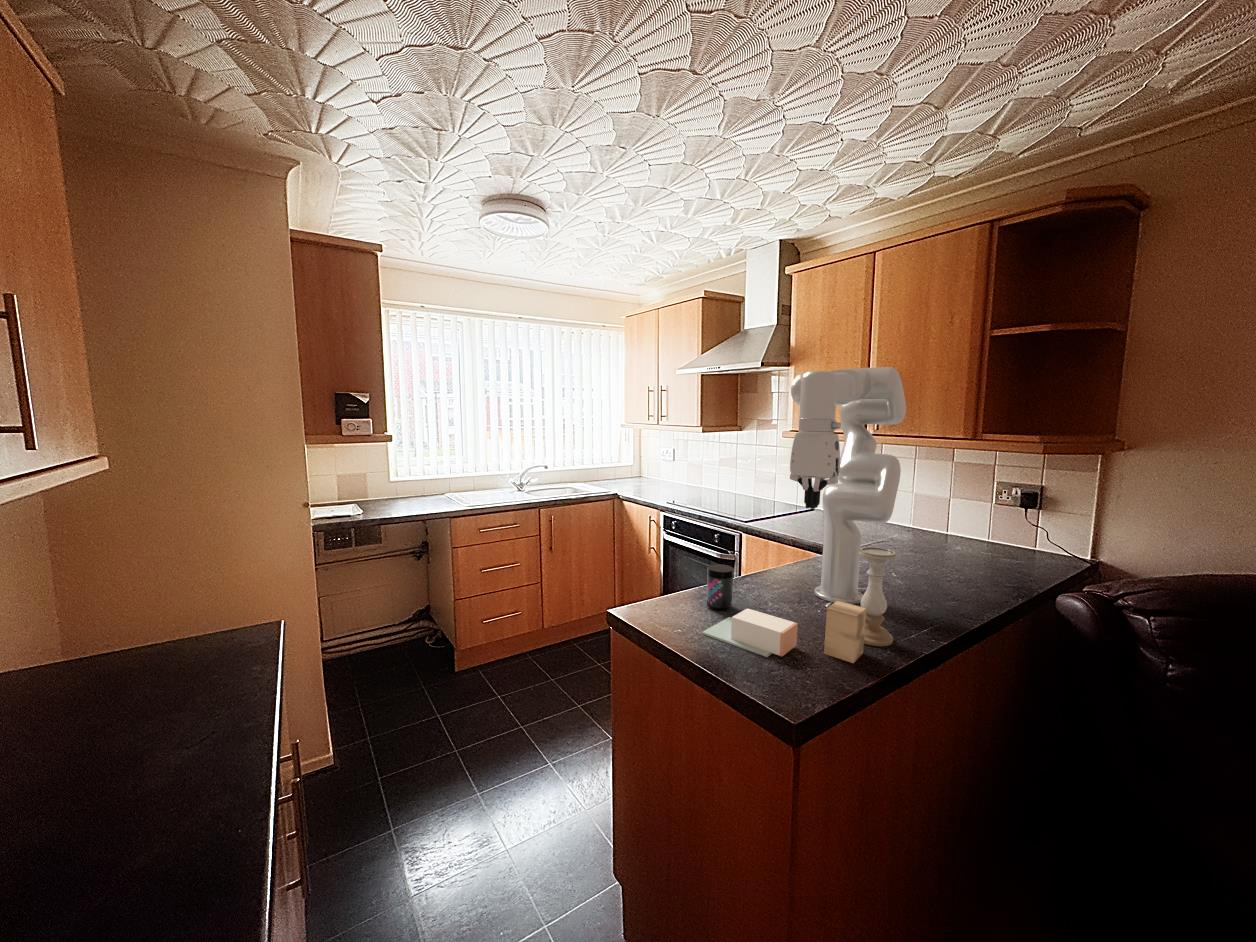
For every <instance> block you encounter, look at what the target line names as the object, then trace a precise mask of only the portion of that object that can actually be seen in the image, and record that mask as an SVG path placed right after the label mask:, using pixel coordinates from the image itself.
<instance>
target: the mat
mask: <svg viewBox="0 0 1256 942" xmlns="http://www.w3.org/2000/svg"><path fill="white" fill-rule="evenodd" d="M732 617H733V616H732ZM732 617H731V616H728V617H727V618H724V619H723V620H721V621H719V622H718V623H715V624H714V625H712V626H710V627H708V628H707V629H705V630H703V631H702V632H701V634H702V635H704V636H707V637H709V638H712V639H715V640H718V641H721V642H723V643H726V644H729V645H732V646H734V647H738V648H740V649H743V650H745V651H749V652H751V653H754V654H757V655H760V656H762V657H765V658H768V657H769V656H771V655H772V654H773V653H770V652H768V651H765V650H762V649H759V648H756V647H753V646H750V645H748V644H745V643H742V642H739V641H736V640H733V639H731V626H732Z"/></svg>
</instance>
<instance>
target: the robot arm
mask: <svg viewBox="0 0 1256 942" xmlns="http://www.w3.org/2000/svg"><path fill="white" fill-rule="evenodd" d="M790 396H791V397H792V400H793V401H794V402H795V404H797V405H799V417H798V432H795V434H794V439H793V442H792V447H791V454H790V461H789V462H790V463H789V473H790V475H789V479H790V480H792V481H794V482H797V483H799V485H800V486H801V487H802V489H803V491H804V497H803V498H804V499H803V503H804V505H805V508H806V509H811V510H813V509H818V506H820V504H821V492H822V491H823V489H824V491H823V493H822V509H823V518H824V519H823V521H824V522H823V523H824V526H823V527H824V529H823V546H822V560H821V561H822V562H821V563H822V564H821V577H820V585H818V586H816V587H815V588H814V594H815V595H816V596H817V597H818V598H820V599H821V600H824V601H826V602H831V603H835V602H836V601H840V602H844V603H848V604H852V605H857V604H860V602H861V599H862V596H863V595H864V593H862V592H860V591H859V578H860V564H861V555H860V554H859V549H860V548H862V535H861V531H860V530H859V527H858V525H856V524H855V522H854V521H860V522H866V523H874V524H886V523H887V522H889V520H890V519H891V518H892V515H893V512H894V508H895V503H896V498H897V494H898V490H899V485H900V479H901V472H902V471H901V469H902V468H901V463H900V460H899V459H898V458H897V457H896V456H895V455H892V454H885V453H876V449H877V445H878V444H877V441H876V438H875V437H874V436H873V434H872V433H871V432H870V431H869V430H868V429H867V428H866V427H864V425H881V426H882V425H884V426H893V425H894V426H895V425H898V424H900V423H902V422H903V421H904V419H905V417H906V413H907V403H906V397H905V392H904V386H903V381H902V379H901V376H900V374H899V372H898V371H897V369H895V368H894V367H891V366H883V367H882V366H879V367H875V366H874V367H856V368H855V367H854V368H843V369H835V370H811V371H807V372H804V373H799V374H798V375H797V376H795V378H794V379H793V381H792V383H791V385H790ZM837 406H839V417H840V422H837V420H836V407H837ZM837 429H842V432H843V437H844V443H843V447H842V450H841V449H840V439H839V438H840V437H839V434H838V433H835V432H836V430H837ZM813 478H814V480H813ZM813 481H814V483H813ZM839 482H840V483H839Z"/></svg>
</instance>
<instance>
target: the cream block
mask: <svg viewBox="0 0 1256 942" xmlns="http://www.w3.org/2000/svg"><path fill="white" fill-rule="evenodd" d="M798 625H799V624H798V623H797V622H795V621H791V620H788V619H785V618H781V617H778V616H775V615H771V614H768V613H764V612H761V611H757V610H755V609H750V608H746V609H744V610H742V611H740V612H738V613H736V614H735V615H732V626H731V639H733V640H736V641H739V642H742V643H745V644H748V645H750V646H753V647H756V648H759V649H762V650H765V651H768V652H770V653H772V654H773V655H776V656H779V657H784V656H785V655H787V654H788V653H789V652H790V651H791V650H793V649H794V648H795V647H797V643H798V641H797V640H798Z"/></svg>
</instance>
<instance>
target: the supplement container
mask: <svg viewBox="0 0 1256 942" xmlns="http://www.w3.org/2000/svg"><path fill="white" fill-rule="evenodd" d="M706 571H707V576H706V577H707V579H706V581H707V582H706V606H707V607H708V608H709V609H710V610H713V611H716V610H717V612H725V611H729V610H731V609H732V607H733V599H734V598H733V595H734V594H733V592H734V576H735V575H734V571H735V568H734V567H732V566H731V565H727V564H721V563H720V564H719V563H717V564H716V563H715V564H710V565H708V566H707V570H706Z"/></svg>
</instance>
